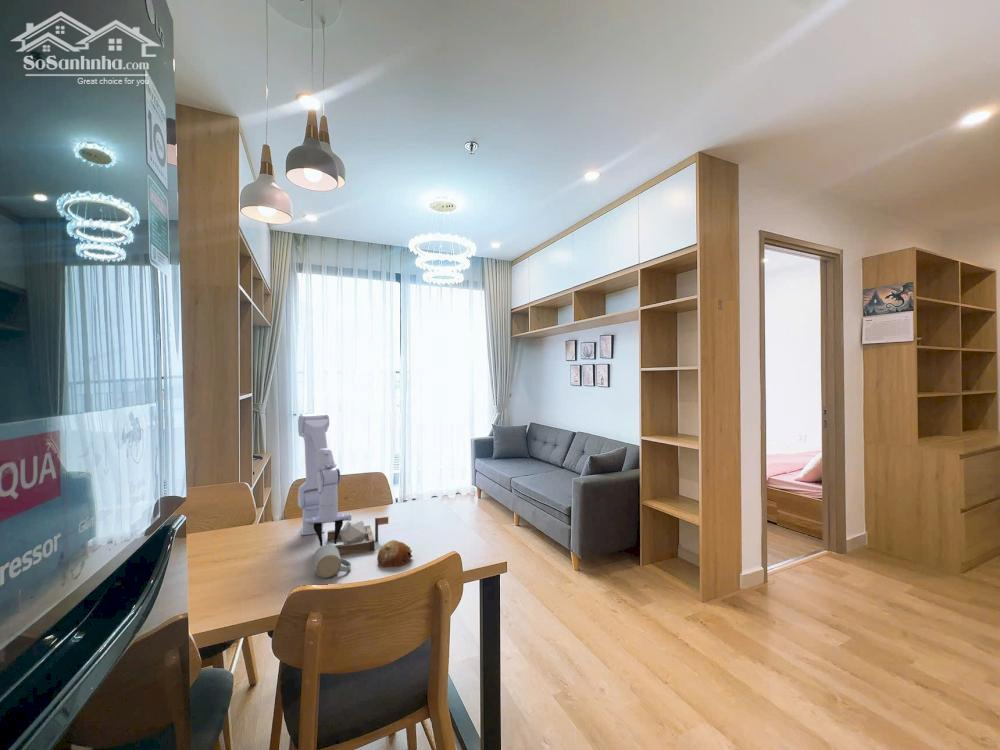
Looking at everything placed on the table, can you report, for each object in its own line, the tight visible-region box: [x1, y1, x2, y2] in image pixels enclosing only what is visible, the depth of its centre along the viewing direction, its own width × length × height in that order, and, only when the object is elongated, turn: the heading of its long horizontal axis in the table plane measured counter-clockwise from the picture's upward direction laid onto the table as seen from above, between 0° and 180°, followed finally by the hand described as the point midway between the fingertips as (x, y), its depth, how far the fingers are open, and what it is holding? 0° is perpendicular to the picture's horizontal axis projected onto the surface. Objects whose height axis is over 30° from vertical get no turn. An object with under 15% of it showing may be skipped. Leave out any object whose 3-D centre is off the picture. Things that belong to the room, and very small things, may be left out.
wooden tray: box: [327, 516, 389, 557], centre depth 145 cm, size 16×20×8 cm
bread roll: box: [376, 539, 413, 569], centre depth 132 cm, size 10×10×8 cm
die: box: [339, 520, 367, 544], centre depth 144 cm, size 8×9×10 cm
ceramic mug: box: [312, 544, 352, 579], centre depth 124 cm, size 10×8×7 cm
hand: (328, 543), depth 141 cm, fingers open, 4 cm apart
